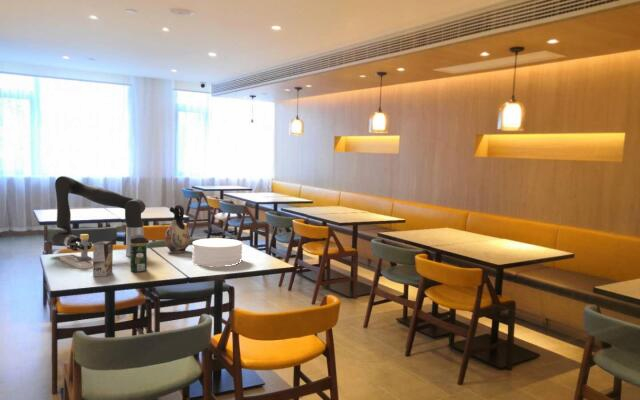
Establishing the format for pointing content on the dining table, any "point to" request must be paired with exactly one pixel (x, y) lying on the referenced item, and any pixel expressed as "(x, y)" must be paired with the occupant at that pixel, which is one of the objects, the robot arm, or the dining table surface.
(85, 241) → the yellow capped tube
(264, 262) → the dining table surface
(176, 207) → the ceramic jug
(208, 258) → the plate stack
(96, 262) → the coffee box
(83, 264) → the beige flat slab
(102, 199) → the robot arm
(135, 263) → the coffee jar
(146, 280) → the dining table surface
